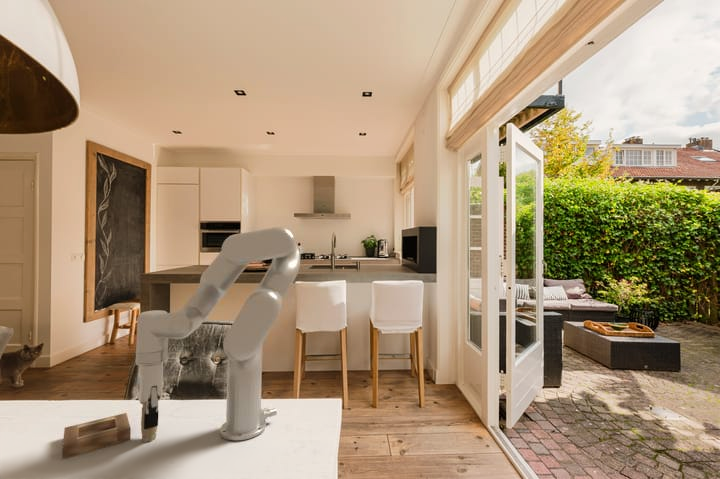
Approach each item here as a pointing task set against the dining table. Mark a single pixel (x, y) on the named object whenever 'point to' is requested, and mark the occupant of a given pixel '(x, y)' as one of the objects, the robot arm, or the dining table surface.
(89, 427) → the wooden frame
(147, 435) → the handle
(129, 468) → the dining table surface
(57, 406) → the dining table surface
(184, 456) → the dining table surface
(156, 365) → the robot arm
